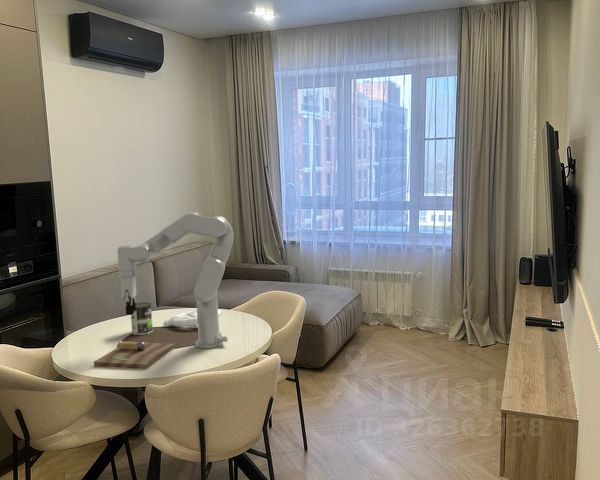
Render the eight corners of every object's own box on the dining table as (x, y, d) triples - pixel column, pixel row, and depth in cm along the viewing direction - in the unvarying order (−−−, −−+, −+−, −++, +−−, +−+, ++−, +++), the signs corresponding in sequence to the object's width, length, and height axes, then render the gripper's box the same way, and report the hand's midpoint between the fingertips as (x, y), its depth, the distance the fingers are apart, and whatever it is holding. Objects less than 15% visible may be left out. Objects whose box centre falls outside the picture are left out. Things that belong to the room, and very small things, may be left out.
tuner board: (174, 348, 241) (174, 343, 241) (146, 369, 216) (145, 364, 216) (127, 345, 247) (127, 341, 246) (94, 366, 222) (93, 361, 221)
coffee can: (156, 329, 272) (154, 302, 270) (147, 335, 262) (144, 307, 260) (138, 328, 274) (136, 302, 272) (128, 334, 264) (125, 307, 262)
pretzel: (160, 331, 272) (158, 319, 272) (183, 320, 295) (182, 309, 294) (208, 327, 264) (206, 315, 263) (229, 316, 286) (227, 304, 286)
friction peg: (146, 348, 235) (145, 341, 234) (142, 350, 232) (142, 343, 232) (120, 347, 238) (120, 339, 237) (117, 349, 235) (116, 342, 234)
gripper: (123, 270, 245) (126, 308, 247) (115, 277, 228) (118, 318, 231) (140, 269, 246) (143, 307, 248) (132, 276, 229) (136, 317, 231)
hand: (131, 312), depth 239 cm, fingers open, 4 cm apart
